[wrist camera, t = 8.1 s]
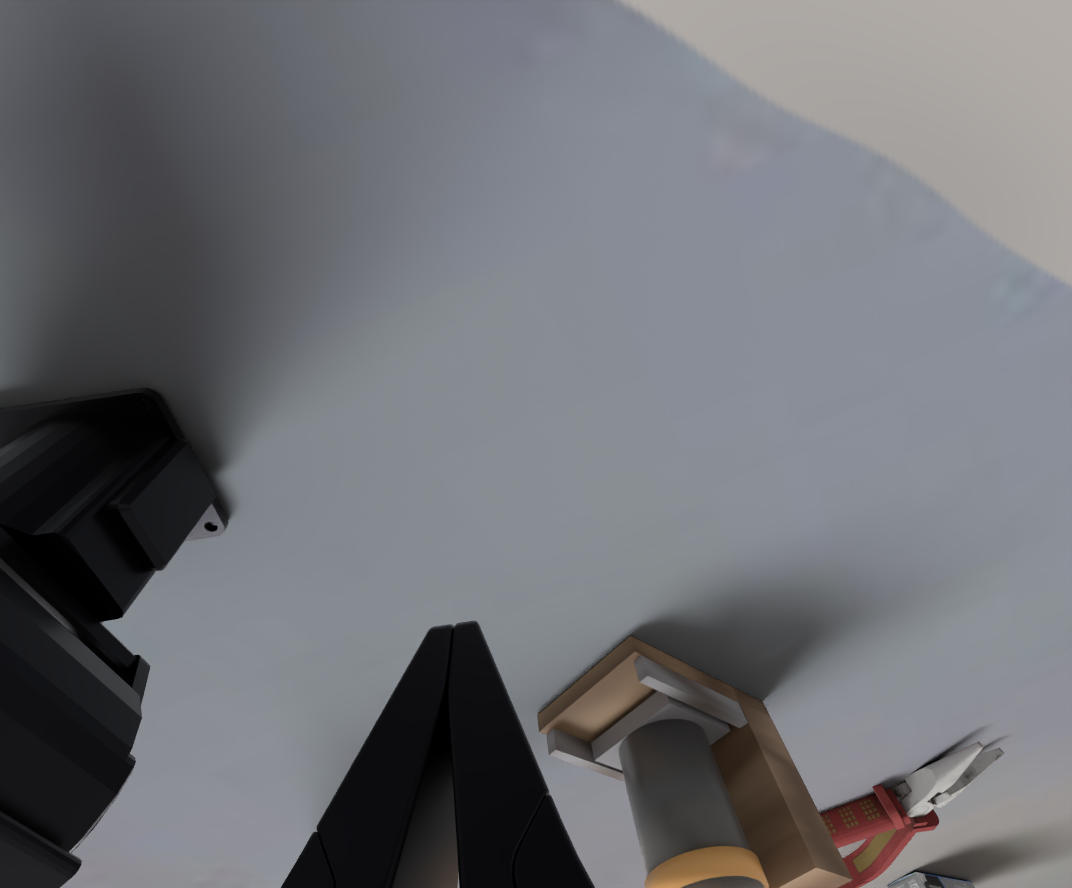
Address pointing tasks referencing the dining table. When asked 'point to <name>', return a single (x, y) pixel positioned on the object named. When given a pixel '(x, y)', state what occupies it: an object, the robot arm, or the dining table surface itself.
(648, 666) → the mount
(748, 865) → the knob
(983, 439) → the dining table surface
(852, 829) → the pliers
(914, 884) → the label tape box
